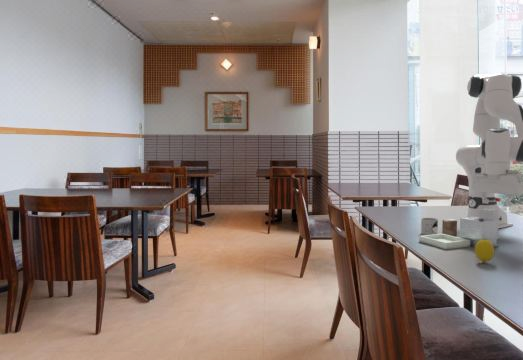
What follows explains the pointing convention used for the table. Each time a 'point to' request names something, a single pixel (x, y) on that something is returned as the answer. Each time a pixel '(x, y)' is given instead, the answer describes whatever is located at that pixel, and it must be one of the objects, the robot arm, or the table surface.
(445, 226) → the block
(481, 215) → the skincare box
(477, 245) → the lemon
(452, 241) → the tray
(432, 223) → the mug
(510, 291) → the table surface
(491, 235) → the block
